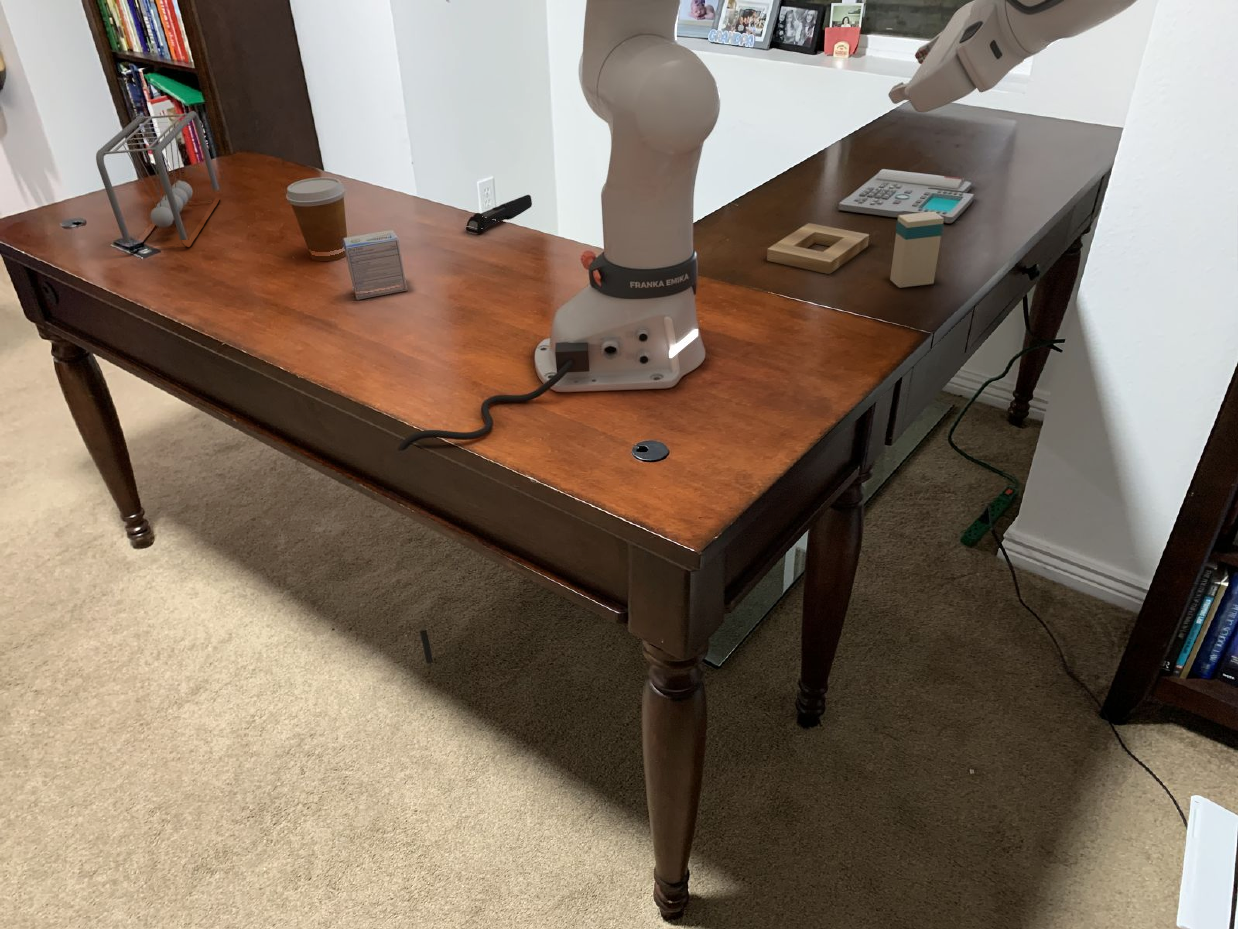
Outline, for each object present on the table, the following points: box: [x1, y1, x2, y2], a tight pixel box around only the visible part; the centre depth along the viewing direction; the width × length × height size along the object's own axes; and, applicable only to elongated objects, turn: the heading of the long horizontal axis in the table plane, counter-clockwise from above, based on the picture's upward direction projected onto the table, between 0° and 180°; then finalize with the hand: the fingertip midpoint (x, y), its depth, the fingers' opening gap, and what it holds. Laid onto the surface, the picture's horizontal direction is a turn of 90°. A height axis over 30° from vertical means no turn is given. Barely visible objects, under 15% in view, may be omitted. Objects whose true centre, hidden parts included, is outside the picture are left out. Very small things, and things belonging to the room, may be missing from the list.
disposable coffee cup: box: [285, 176, 348, 262], centre depth 155 cm, size 10×10×12 cm
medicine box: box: [343, 229, 408, 301], centre depth 142 cm, size 8×4×9 cm, turn 111°
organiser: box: [766, 222, 870, 275], centre depth 149 cm, size 14×11×2 cm
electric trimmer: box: [465, 194, 533, 236], centre depth 168 cm, size 4×16×3 cm, turn 142°
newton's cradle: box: [95, 110, 220, 244], centre depth 170 cm, size 30×10×18 cm, turn 9°
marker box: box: [889, 212, 944, 289], centre depth 135 cm, size 6×3×10 cm, turn 101°
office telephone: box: [837, 168, 974, 224], centre depth 169 cm, size 23×3×20 cm
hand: (905, 76), depth 121 cm, fingers open, 8 cm apart
